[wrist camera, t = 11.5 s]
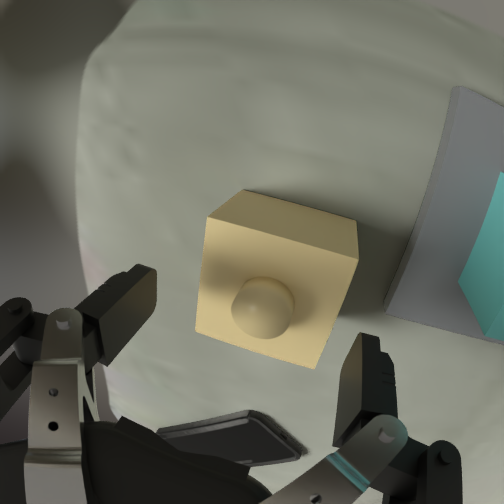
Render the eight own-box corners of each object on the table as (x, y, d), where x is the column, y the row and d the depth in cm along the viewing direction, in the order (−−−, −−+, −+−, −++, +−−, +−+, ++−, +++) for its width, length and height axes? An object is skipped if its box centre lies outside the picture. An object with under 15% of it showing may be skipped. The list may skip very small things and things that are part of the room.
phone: (151, 433, 30) (252, 414, 23) (155, 426, 31) (256, 404, 24) (199, 470, 31) (305, 459, 24) (202, 463, 32) (307, 450, 25)
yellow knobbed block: (356, 220, 15) (359, 272, 10) (323, 315, 18) (311, 384, 13) (242, 189, 16) (196, 225, 11) (226, 286, 19) (186, 343, 14)
